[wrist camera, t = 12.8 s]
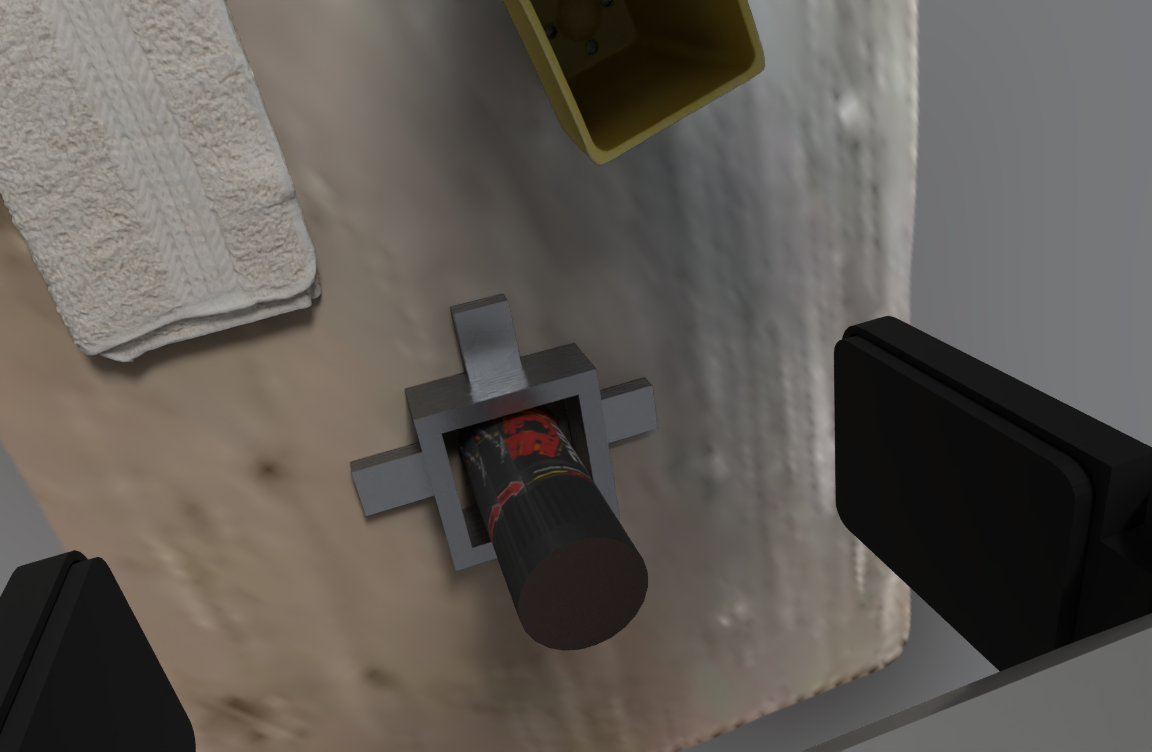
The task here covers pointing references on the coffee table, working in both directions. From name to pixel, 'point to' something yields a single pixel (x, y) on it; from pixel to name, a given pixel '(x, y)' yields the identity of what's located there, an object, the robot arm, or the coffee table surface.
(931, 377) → the robot arm
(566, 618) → the deodorant
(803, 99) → the coffee table surface
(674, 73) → the flower pot
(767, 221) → the coffee table surface
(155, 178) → the washcloth
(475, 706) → the coffee table surface
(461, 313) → the tabbed square frame
